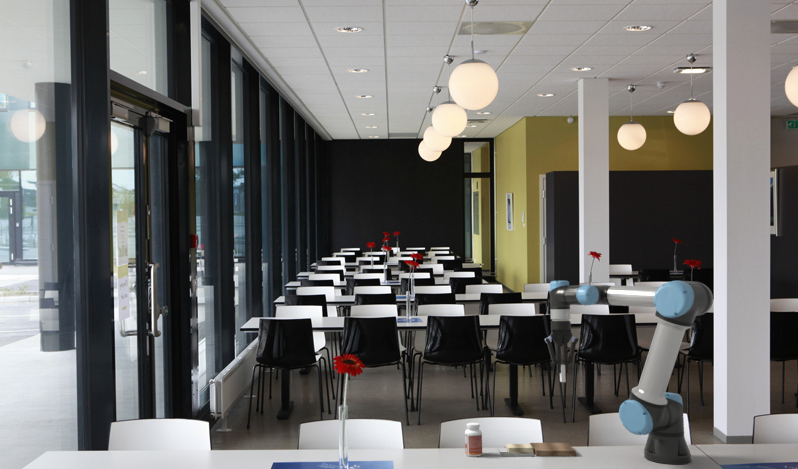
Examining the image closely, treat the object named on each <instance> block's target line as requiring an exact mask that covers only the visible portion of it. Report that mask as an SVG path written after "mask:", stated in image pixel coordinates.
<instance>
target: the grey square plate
mask: <svg viewBox="0 0 798 469" xmlns="http://www.w3.org/2000/svg"><path fill="white" fill-rule="evenodd" d="M499 454H500V456H501V457H508V458H509V457H511V458H512V457H521V458H522V457H524V458H525V457H536V455H535V454H509V453H508V452H499Z"/></svg>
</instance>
